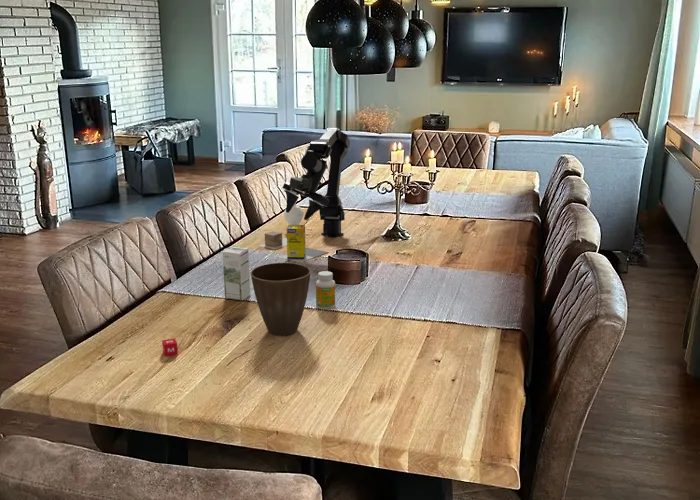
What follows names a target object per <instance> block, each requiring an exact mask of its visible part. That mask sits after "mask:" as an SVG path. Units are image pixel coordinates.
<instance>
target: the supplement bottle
mask: <svg viewBox="0 0 700 500" xmlns="http://www.w3.org/2000/svg"><path fill="white" fill-rule="evenodd" d="M333 276H334V274H333V272H331V271H327V270H326V271H320V272H318V273H317V277H318V279H317V280H316V282H315V306H316V307H317V308H318V309H322V310H330V309H333V308H335V306H336V281H335V280H334V279H333Z"/></svg>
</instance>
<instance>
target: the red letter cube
mask: <svg viewBox="0 0 700 500" xmlns="http://www.w3.org/2000/svg"><path fill="white" fill-rule="evenodd" d="M161 341H162V352H163V355H164V357H171V356H177V355H179V352H178V351H179V350H178V342H177V340H176V338H170V339H163V340H161Z"/></svg>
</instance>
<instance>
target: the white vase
mask: <svg viewBox="0 0 700 500" xmlns="http://www.w3.org/2000/svg"><path fill="white" fill-rule="evenodd" d="M296 204H297V202H296V203H295V204H294V206H293V207H292V209H291V210H290V211H289V213H287V212H286V209H285V210H284V212H283V215H284V219H285V221H286V222H287V224H288V225H300V223H302V220H303V219H304V210H303V209H302V208H301V206H299V205H296Z"/></svg>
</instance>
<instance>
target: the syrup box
mask: <svg viewBox="0 0 700 500" xmlns="http://www.w3.org/2000/svg"><path fill="white" fill-rule="evenodd" d="M249 256H250V250H249V248H247V247H238V246H237V247H236V246H230V247H227V248H225V249H224V250H223V251H222V265H223V267H222V268H223V286H224V288H223V289H224V298H225V299H227V300H234V301H241V302H242V301H244V300H245V299H247V298H248V297H249V296H251V281H250V277H251V276H250V257H249Z"/></svg>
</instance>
